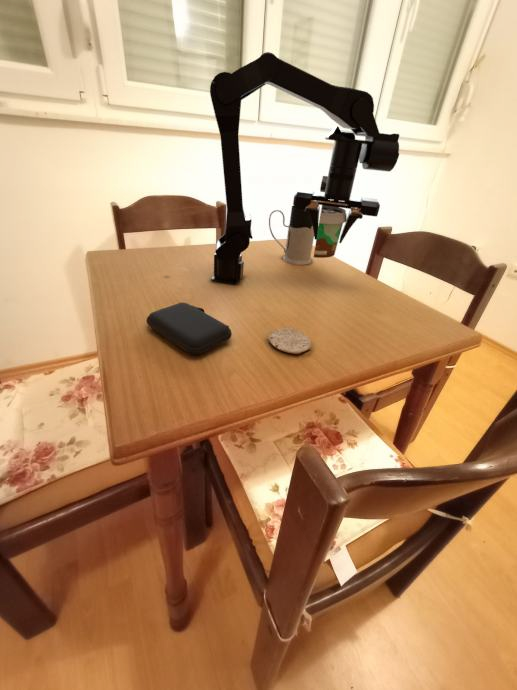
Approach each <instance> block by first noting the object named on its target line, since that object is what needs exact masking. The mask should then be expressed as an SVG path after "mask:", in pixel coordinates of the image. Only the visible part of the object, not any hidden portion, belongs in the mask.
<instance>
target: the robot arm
mask: <svg viewBox="0 0 517 690" xmlns="http://www.w3.org/2000/svg"><path fill="white" fill-rule="evenodd" d="M266 85H269V86H271V87H273V88H276V89H278V90H279V91H281V92H283V93H286V94H287V95H290V96H292V97H295V98H296V99H299V100H301V101H303V102H305V103H307V104H309V105H312V106H313V107H315V108H318V109H319V110H320V111H322V112H323V113H324V114H326V115H327V116H328V118H330V119H331V120H332V121H333V122H335V123H336V124H337V125H339V126H340V127H341V128H343V129H345V130H346V129H347V130H350V131H351V132H349V131H342V130H341V129H340V127H339V126H334V127H333V129H332V130H331V131H330V132H328V134H325V136H324V139H325V140H327V141H334V142H333V147H332V153H331V157H330V163H329V168H328V174H327V175H322V178H321V183H320V188H319V191H320V193H324V195H316V194H315V191H314V190H307V189H298V191H296V192H295V193H294V195H293V201H292V206H293V205H295V206H302V207H306V208H305V211H308V212H309V213H310V216H311V220H312V224H313V231H314V240H315V241H316V239H317V232H318V226H319V220H320V211H321V206H322V205H325V206H333V207H339V208H342V209H349V210H348V213H347V221H346V222H344V225H343V227H342V230H341V232H340V236H339V240H338V244H342V242H343V240H344V239H345V238H346V237H347V234H348V232H349V231H350V229H351V228H352V227H353V226H354V224H355V223H356V221H358V219H360V220H362V219H363V217H364V216H368V217H378V215H379V212H380V208H381V205H380V202H379V201H378V199H376V198H369V197H361V199H360V200H355V199H351V196H352V195H351V194H352V192H353V186H354V182H355V179H356V175H357V170H358V166H359V165H358V164H361V167H362V170H368V171H379V172H391V171H392V170H393V169H394V168H395V167H396V164H397V162H398V160H399V157H400V153H399V152H400V143H399V138H400V133H383V132H382V133H381V132H380V130H379V128H378V127H379V126H378V124H377V121H376V117H375V115H374V111H375V103H374V98H373V96H372V94H370V93H369V92H368V91H365V90H361V89H356V88H352V87H346V86H339V85H335V84H331V83H329V82H327V81H325V80H323V79H321V78H320V77H317V76H315V75H314V74H311V73H310V72H307V71H306V70H303V69H301V68H299V67H297V66H295V65H293V64H291V63H289V62H287V61H285V60H283V59H281V58H279V57H277V56H276V55H275V54H274V53H273V52H269V51H266V52H263V53H262V54H261V55H260V56H259V57H258V58H256V59H254V60H253V61H251V62H248V63H247V64H245V65H243V66H241V67H239V68H238V69H236V70H235V71H233V72H227V71H222V72H219V73H217V74H216V75H215V76H214V77H213V79H212V80H211V83H210V87H209V95H210V100H211V104H212V108H213V113H214V116H215V121H216V125H217V128H218V131H219V132H218V133H219V136H220V147H221V148H220V149H221V157H222V168H223V179H224V180H223V181H224V192H225V203H226V219H225V229H224V230H225V231H224V234H223V235H221V236H220V237H219V238H218V239H217V241H216V244H215V245H216V246H215V252H214V253H213V276H212V277H211V281H213V282H217V283H223V284H224V283H225V284H230V285H237V284H238V283H239V282H240V281H241V280H242V279H243V277H244V268H245V267H244V265H245V261H244V260H243V254H242V253H243V252H245V251H246V250H247V249H248V248H249V245H250V242H251V240H253V237H254V236H253V232H252V216H251V214H245V210H244V206H243V205H244V203H243V202H244V201H243V189H242V188H243V187H242V172H241V171H242V170H241V158H240V157H241V156H240V155H241V154H240V140H239V132H240V121H241V107H242V100H244V99H246V98H248V97H249V96H250V95H252V94H253V93H255V92H256V91H258V90H260V89H261V88H263V87H265V86H266ZM356 137H364V138H365V139H364V140H363V139H356Z"/></svg>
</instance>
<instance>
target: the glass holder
mask: <svg viewBox="0 0 517 690" xmlns="http://www.w3.org/2000/svg"><path fill="white" fill-rule="evenodd" d="M305 208H306V207H302V206H295V205H293V204H292V206H291V210H290V218H289V223H288V225H286V224H285V214H284V212H283V211H282V210H280V209H275V210H274V209H273V211H271V212H270V213H269V217H268V227H269V228H268V229H269V231H270V234H271V237H272V238H273V239H274V240H275V241H276V243H277V244H278V245H279V246H280V247H281V248H282V249H283V258H282V260H283V261H285V263H288V264H292V265H300V266H302V265H309V264H311V263H312V259H311V257H312V250H313V245H314V240H315V237H314V231H313V224H312V220H311V216H310V213H309V212H308V211H305ZM275 212H279V213H280V214H281V215H282V225H283V226H284V227H285V228H287V235H286V245H285V246H284V245H283V244H282V243H281V242H280V241H279V240H278V239H277V238H276V236H275V235H274V233H273V230H272V227H271V218H272V215H273V214H274V213H275Z"/></svg>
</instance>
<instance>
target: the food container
mask: <svg viewBox="0 0 517 690" xmlns="http://www.w3.org/2000/svg"><path fill="white" fill-rule="evenodd" d="M347 216H348V213H347V210H346V209H345V208H340V207H333V206H325V205H321V207H320V212H319V223H318V232H317V239H316V240H315V245H314V252H313V258H315V259H316V258H317V259H325V258H326V259H327V258H331V257H334V256H335V254H336V251H337V248H338V247H337V246H338V244H339V241H340V237H341V233H342V230H343V226H344V225H343V224H345V222H346V221H347Z"/></svg>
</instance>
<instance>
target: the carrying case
mask: <svg viewBox="0 0 517 690" xmlns="http://www.w3.org/2000/svg"><path fill="white" fill-rule="evenodd" d="M146 324H147V325H148V327H150V328H151V329H153V330H154V331H155V332H156V333H158V334H160V335H161V336H163V338H165V339H167V340H168V341H169V342H171V343H172V344H174V345H175V346H177V347H178V348H180V349H181V350H183V351H184V352H185V353H187V354H189V355H190V356H191V355H192V356H199V355H202V354H203V353H206V352H208V351H209V350H211V349H213V348H217V346H220V345H222V344H223V343H225V342H227V341H229V340H230V339H231V338H232V335H233V332H232V330H231V328H230V326H229V325H227V324H225V323H224V322H222V321H220V320H218V319H216V318H215V317H213V316H211V315H209V314H208V313H206V312H205V309H204V308H203V307H198V306H195V305H191V304H190V303H188V302H179V303H175V304H172V305H169V306H167V307H164V308H161V309H158V310H155V311H153V312H151V313H150V314H149V315H148V316H147V317H146Z"/></svg>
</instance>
